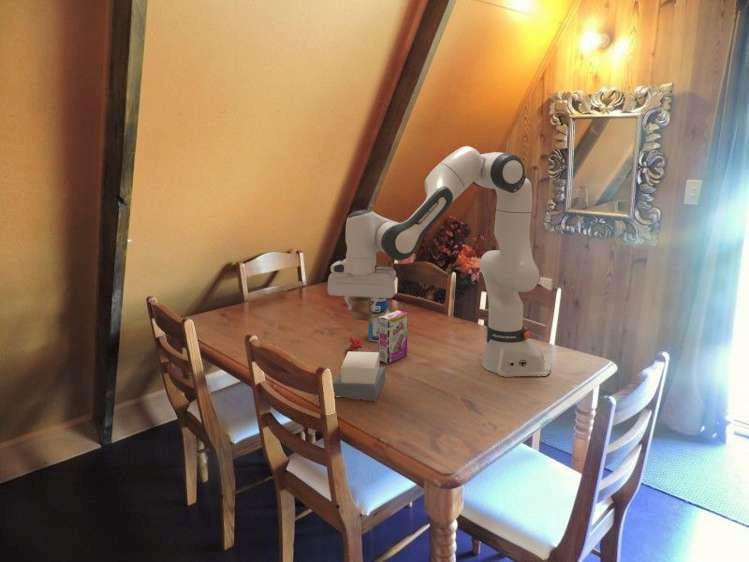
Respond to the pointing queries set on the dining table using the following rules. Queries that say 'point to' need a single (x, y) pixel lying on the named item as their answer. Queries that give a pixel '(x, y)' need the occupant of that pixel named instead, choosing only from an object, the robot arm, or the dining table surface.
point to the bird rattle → (352, 346)
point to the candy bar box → (392, 336)
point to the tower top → (360, 367)
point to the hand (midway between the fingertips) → (361, 310)
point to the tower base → (360, 387)
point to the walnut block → (361, 308)
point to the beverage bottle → (380, 310)
